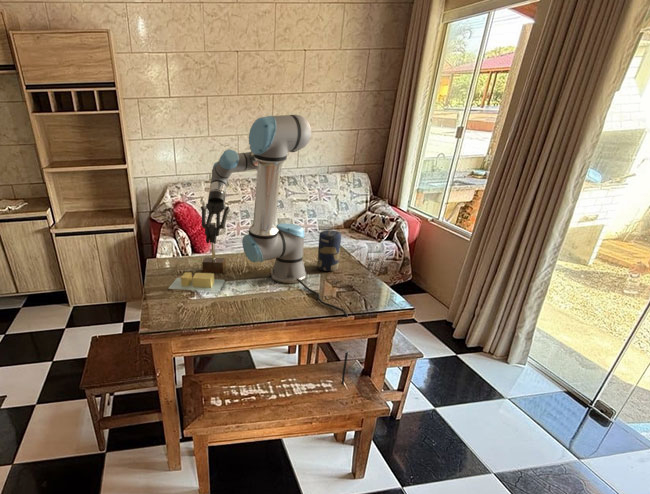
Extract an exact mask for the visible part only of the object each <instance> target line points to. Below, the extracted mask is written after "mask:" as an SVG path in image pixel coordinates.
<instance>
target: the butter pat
mask: <svg viewBox="0 0 650 494" xmlns="http://www.w3.org/2000/svg"><path fill="white" fill-rule="evenodd" d="M180 278H181V285H182V286H187V287H188V286H189V285H190V283H191V282H192V278H193V275H192V272H189V271H187V272H186V271H185V272H184V273H183V274H182V275H181V276H180Z"/></svg>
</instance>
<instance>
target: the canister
mask: <svg viewBox="0 0 650 494" xmlns="http://www.w3.org/2000/svg"><path fill="white" fill-rule="evenodd" d="M341 243H342V233H341V232H340V231H338V230H333V229H328V230H322V231H320V232H319V236H318V250H317V261H316V262H317V263H316V266H317V269H318V270H320V271H324V272H334V271H336V270H338V269H339V264H340V255H341Z"/></svg>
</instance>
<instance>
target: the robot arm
mask: <svg viewBox="0 0 650 494" xmlns="http://www.w3.org/2000/svg"><path fill="white" fill-rule="evenodd" d="M311 137H312V127H311V124H310V123H309V121H308V119H306V117H304V116H302V115H299V114H281V115H266V116H261V117H258V118H256V119H255V120H254V122H252V124H251V127H250V129H249V133H248V145H249V150H250V151H247V152H237V151H236V150H234V149H230V148H229V149H226V150H224V151H223V152H222V154H221V155H220V157H219V159H218V161H216V162H214V163H213V165H212V169H211V179H210V185H209V191H208V197H207V203H206V205H204V206H202V205H201V206H200V210H201V227H202V228H203V229H204V236H205V242H206V244H210V240H209V224H210V223H212V220H213V217H214V215H216V223H215V228H214V235H213V242H214V244H215V245H216V243H217V237H219V236H220V231H221V229H222V230H224V229H225V226H226V222H227V218H228V215H229V213H230V211H231V209H230V206H226V204H225V203H226V194H227V187H228V181H229V178H230V176H231V175H232V174H233V173H238V172H246V171H256V185H255V198H254V209H253V210H254V211H253V221H252V222H253V223H252V224H251V225H250V226H249V227H248V234H245V235H244V236H243V237H242V242H241V243H242V249H243V252H244V254H245V256H246V258H247V259H248V261H250V262H251V263H263V262H266V261H270V260H274V263H273V267H272V268H270V278H271V279H272V280H273V281H275V282H277V283H281V284H297V283H298V284H299V283H300V284H301V285H302V286H303V287H304V288H305V289H306V290H307V291H309V292H311V293H312V294H315V295H316V296H317V300H318V301H319V303H320V304H322V305H324V306H327V307H330V308H333V309H335V310H338V311H341V312H342V313H343V314H344V317H345V318H349V315H348V312H347V311H346V310H345V309H343V308H341V307H339V306H336V305H333V304H331V303H329V302H325V301H323V300H322V298H321V295H320V294H319V293H318V292H317V291H315V290H313V289H312V288H309V287H308V286H307V285H306V284H305V283H304V282H303V281H305V280H306V279H307V271H306V269H305V268H306V267H305V264H304V247H305V246H304V243H305V229H304V228H303V226H301V225H298V224H294V223H286V222H283V223H278V224H276V221H277V220H276V218H277V211H278V201H279V191H280V184H281V175H282V174H281V173H282V165H283V164H284V163H285V161H287V159H288V153H296V152H298V151H300V150H303V149H304V148H305V147H306V146H307V145H308V144H309V143H310V140H311ZM207 210H208V215H207V218H206V214H207ZM222 212H223V214H222V217H221V213H222ZM348 355H349V352H348V351H347V352H345V354H344V362H343V370H342V375H341V385H342V386H344V385H345V377H346V370H347V363H348Z"/></svg>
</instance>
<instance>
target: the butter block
mask: <svg viewBox="0 0 650 494" xmlns="http://www.w3.org/2000/svg"><path fill="white" fill-rule="evenodd" d="M214 279H215V273H205V272H195V273H194V275H192V282H193V287H207V288H211V287H212V285H213V284H214Z"/></svg>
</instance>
